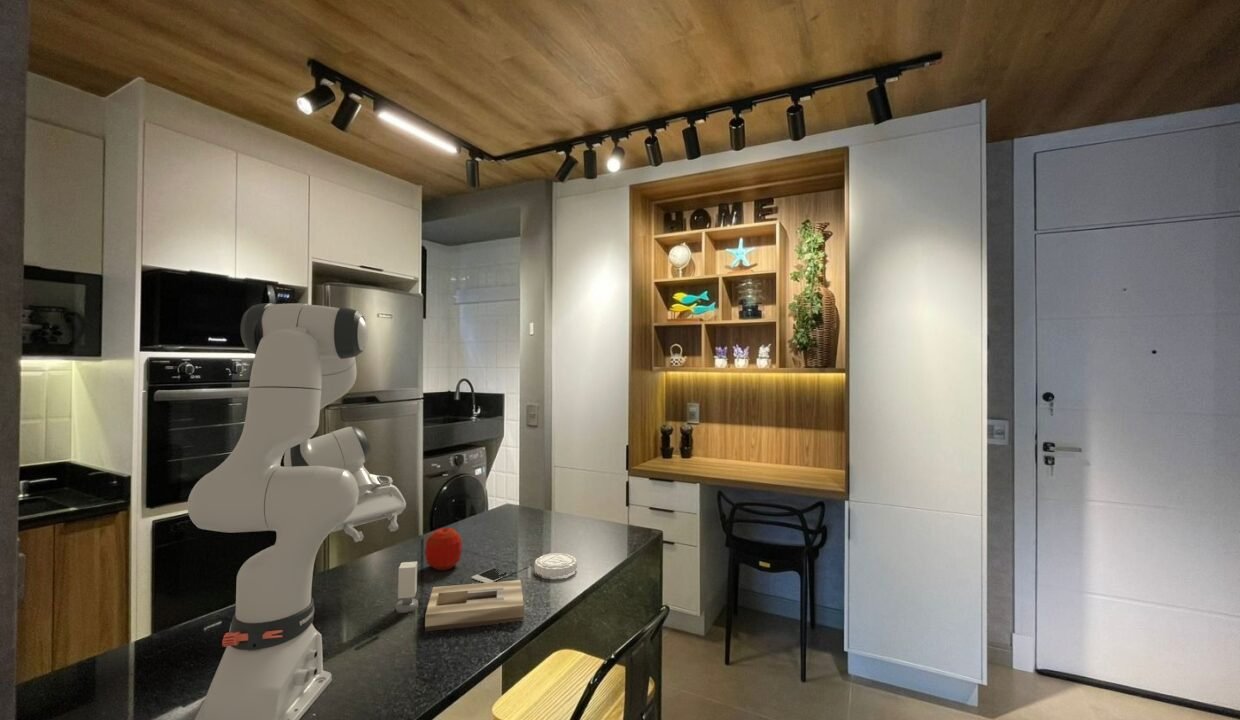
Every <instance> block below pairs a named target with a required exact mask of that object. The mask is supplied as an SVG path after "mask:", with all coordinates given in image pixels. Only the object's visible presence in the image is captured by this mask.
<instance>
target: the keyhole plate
mask: <svg viewBox="0 0 1240 720" xmlns="http://www.w3.org/2000/svg"><path fill="white" fill-rule="evenodd" d="M523 597H524V596H523V589H522V580H520V579H516V580H506V581H504V580H503V581H497V582H490V583H481V582H479V583H467V584H456V585H445V586H444V585H443V586H441V585H440V586H433V587H432V590H431V593H430V596H429V601H428V604H427V607H426V612H425V616H424V617H425V618H424V620H425V621H424V632H433V631H439V630H440V631H441V630H451V629H460V628H470V627H479V626H481V627H482V626H490V625H491V626H492V625H499V623H502V624H506V623H505V622H511V623H513V622H512V621H521V620H523V621H524V617H525V616H524V614H525V613H524V609H525V604H524V598H523ZM521 622H522V621H521Z"/></svg>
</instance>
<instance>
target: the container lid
mask: <svg viewBox="0 0 1240 720" xmlns="http://www.w3.org/2000/svg"><path fill="white" fill-rule="evenodd" d="M533 564H534V566H533V567H534V569H535V572H537V574H540V575H542V576H546V577H550V576H552V577H556V576H563V575H568V574H569V573H572V572H573V571H575V570H576V568H577V569H578V561H577V558H575V557H574V556H573V555H570V554H568V553H563V552H560V553H557V552H556V553H550V552H549V553H547V554H543V555H541V556H539V557H537V558H536V559H535V561H534V563H533ZM534 569H533V570H534ZM535 572H534V573H535Z"/></svg>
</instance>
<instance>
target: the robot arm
mask: <svg viewBox="0 0 1240 720" xmlns="http://www.w3.org/2000/svg"><path fill="white" fill-rule="evenodd" d="M240 337H241V340H242V343H243V345H244V347H246V349H247V350H248V351H249V352H250V353H251V354H254V355H255V356H254V358H253V362H252V367H251V370H250V371H251V372H250V378H249V386H248V395H247V396H248V397H247V404H246V405H247V406H246V414H245V418H244V424H243V429H242V432H241V435H240V438H239V439H238V441H237V443H236V445H235V446H234V449H233V450H232V452H230V454H229V455H228V456H227V458H225V460H224V461H223V462H221V463H220V464H219V465H218V466H217V467H215V468H214V469H213V470H211V471H209V472H208V473H207V474H205V475H204V476H203V477H201V478H200V479H199V480H198V481H197V482H196V483H195V484H194V486H193V488H192V489H191V491H190V493H189V496H188V499H187V512H188V513H187V514H188V516H189V519H190V520H191V521H192V523H193V524H194V525H195V526H196V527H197V528H198V529H201V530H206V531H212V532H213V531H214V532H219V533H220V532H221V533H249V532H267V531H271V532H275V533H276V539H275V542H274V544H273V545H270V546H269V547H266V548H265V549H262V550H260V551H259V552H257V553H255V554H254V555H252V556H250V557H249V558H248V559H247V560H246V561H244V562H243V564H242V565H241V567H240V568H239V570H238V572H237V575H236V585H235V586H236V591H235V592H236V593H235V613H234V614H233V616H232V620H231V622H230V626H229V632H226V633H225V634H224V635H223V639H222V640H221V641H222V643H221V646H222V647H224V648H225V650H224V652H223V654H222V657H221V659H220V662H219V664H218V667H217V669H216V671H215V674H214V676H213V678H212V680H211V683H210V686H209V688H208V690H207V693H206V696H205V698H204V701H203V702H202V704H201V707H200V709H199V710H198V712H197V714H196V716H195V717H194V720H300V719H301V718H302V716H303V715H304V714H305V713H306V712H307V711H308V709H309V708H310V707H311V706H312V705H313V703H315V701H316V700H317V699H318V698H319V697H320V695H321V694H322V693H323V692H324V691H325V690H326V688H327V687H328V686H329V685H330V684H331V682H332V680H333V678H332V677H333V676H332V673H331V672H329V671H326V670H324V665H323V664H324V663H323V662H324V661H323V660H324V659H323V638H322V634H321V633H320V631H318V630H317V629H316V628H315V626H314V624H313V621H314V614H315V605H314V599H313V598H312V588H313V587H312V584H313V575H314V574H313V573H314V565H315V561H316V557H317V553H318V551H319V549H320V547H321V545H322V544H323V542H324V541H325V539H326V538H327V537H328V536H329V534H331V533H335V532H339V531H341V530H343V531H344V533H345V534H347V535H349V536H350V537H352V539H353V541H354V543H358V542H362V541H363V540H364V538H365V536H364V534H363V532H362V531H358V530H357V529H356V528H354V527H358V526H361V525H365V524H369V523H372V522H375V521H379V520H383V519H388V521H390V524H389V525H388V526H387V528H388V530H389V532H392V533H393V532H395V531H397V530H399V524H398V522H397V521H398V515H401V514H402V513H403V511H404V510H405V509H406V507H407V502H406V499H405V498H404V495H403V494H402V492H401V491H400V490H399V488H398V487H397V486H396V485H394V484H393V479H392V477H391V476H387V475H378V474H372V473H370V472H369V471H368V470H367V469H366V468H365V465H364V464H365V463H366V461H367V460H368V457H369V455H370V453H371V452H372V451H371V450H372V448H371V444H370V442H369V440H368V438H367V437H366V436H367V435H365V432H364V430H361V429H360V428H358V427H356V426H353V425H352V426H351V425H350V426H347V427H343V428H341V429H337V430H334V431H331V432H329V433H326V434H323V435H319V436H315V437H313V436H314V435H315V434H316V432H317V431H318V429H319V425H320V415H321V414H320V413H321V410H322V409H323V408H325V407H326V406H328V405H330V404H332V403H333V402H335V401H337V400H339V399H341V398H342V397H343V396H345V395H346V394H348V392H349V391H350V390H351V389H352V388H353V386H354V385H355V383H356V379H357V362H356V357H358V356H359V355H360V354H362V353H363V352H364V350H365V348H366V344H367V342H368V337H369V329H368V325H367V322H366V319H365V317H364V315H363V314H362V313H361V312H360V311H359V310H357V309H353V308H348V307H344V306H341V307H333V306H327V305H316V304H309V303H300V302H299V303H297V302H296V303H276V304H274V303H272V302H268V303H258V304H255V305H251V306H250V307H249V308H248V309H247V310H246V311H245V312H244V313H243V315H242V318H241V321H240ZM312 437H313V438H312ZM283 456H284V457H283ZM282 459H283V465H282V466H281V463H282Z"/></svg>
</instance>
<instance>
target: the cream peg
mask: <svg viewBox="0 0 1240 720" xmlns="http://www.w3.org/2000/svg"><path fill="white" fill-rule="evenodd" d="M397 579H398V582H397V586H398V587H397V599H401V600H399V601H398V602H396V604H395V611H396V612H397V613H398V614H409V613H411V612H415V611H416V610H417V609H418V607H419V600H418V599H417V598H415V596H416V593H417V591H418V590H417V588H418V561H405V562H401V563H400V566H399V567H398V578H397Z"/></svg>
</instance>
